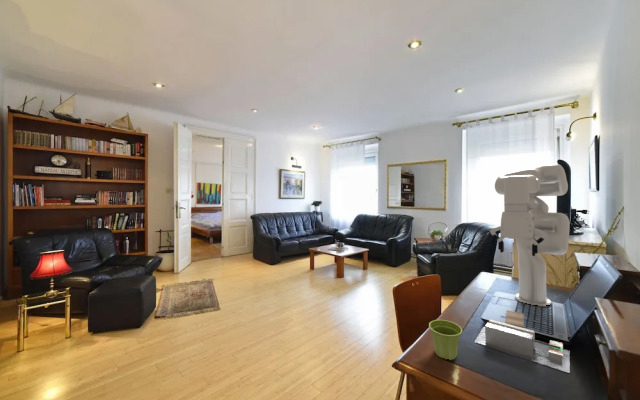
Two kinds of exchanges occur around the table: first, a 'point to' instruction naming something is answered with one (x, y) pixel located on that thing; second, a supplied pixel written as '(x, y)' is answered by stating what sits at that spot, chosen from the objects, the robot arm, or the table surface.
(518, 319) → the walnut bar
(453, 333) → the plant pot
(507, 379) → the table surface
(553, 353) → the frame
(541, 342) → the gauge pad
